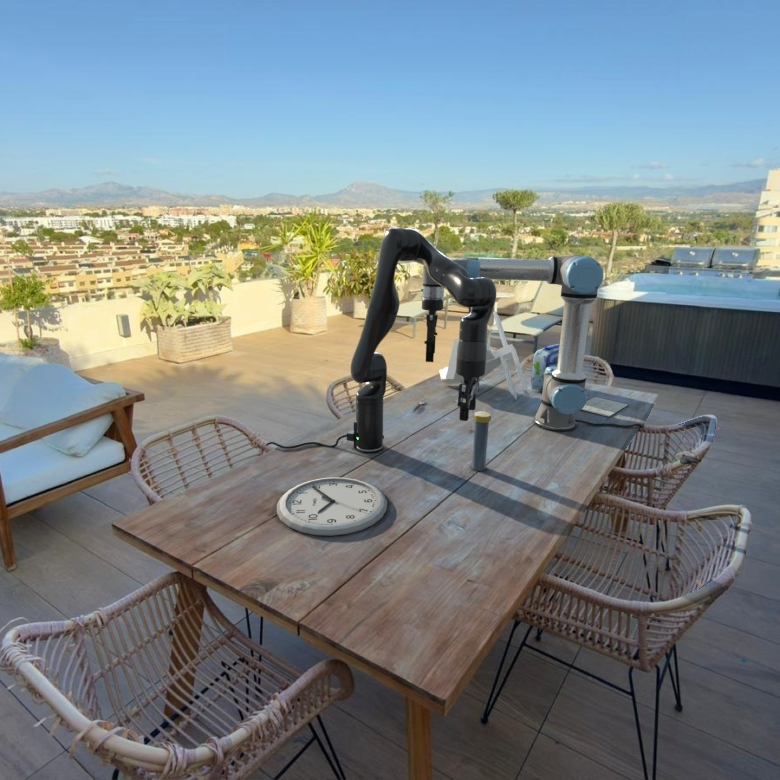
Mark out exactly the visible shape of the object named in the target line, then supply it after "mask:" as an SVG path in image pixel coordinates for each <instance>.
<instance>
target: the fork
mask: <svg viewBox="0 0 780 780" xmlns="http://www.w3.org/2000/svg"><path fill="white" fill-rule="evenodd" d="M427 399H428V397H424V396H422V397H421V398H420V400H419V402H418V403H419V404H417V405H416V406H415V408H413V412H415V411H416V410H419V408H420V406H421V405H425V404H426V403H427Z"/></svg>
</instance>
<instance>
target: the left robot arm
mask: <svg viewBox="0 0 780 780" xmlns="http://www.w3.org/2000/svg"><path fill="white" fill-rule="evenodd" d="M442 253H443V252H440V251H439V250H438V249H437V248H436V247H435V246H434V245H433V243H431V242H430V241H429V240H428V239H427V238H426V237H425V236H424V235H423V234H421V232H419V231H418V230H416V229H414V228H408V227H390V228H388V229H387V230H386V231H385V233H383V237H382V240H381V243H380V248H379V255H378V260H377V261H378V262H377V268H376V274H375V278H374V283H373V287H372V292H371V295H370V299H369V301H368V306H367V310H366V314H365V319H364V323H363V326H362V330H361V333H360V336H359V340H358V343H357V345H356V348H355V351H354V352H353V356H352V358H351V362H350V376H351V378H352V379H353V381H354V382H355V383H358V384H364V385H363V386H362V387H360V389H358V390H357V391H356V393H355V421H354V422H353V428H351V429H350V430H349V431H348V432H346V434H343V435H341V436H339V437H338V438H337V439H336V442H335V444H332V445H331V444H330V445H328V444H324V443H321V442H317V441H309V442H303V443H300V444H296V445H289V446H287V445H286V446H285V445H282V444H279V443H278V442H276V441H268V442H267V443H266V444H265V446H266V447H267V446H269V445H274V446H277V447H279V448H281V449H286V450H287V449H288V450H289V449H296V448H299V447H303V446H306V445H317V446H322V447H326V448H334V447H337V446H338V444H339V441H340V440H341V439H343V438H346V441H348V442H353V449H355V450H357V451H359V452H361V453H366V454H371V453H378V452H380V451H382V450H383V449H384V439H385V436H384V396H385V394H386V390H387V376H388V365H387V361H386V358H385V356H384V355H383V354H382V353H380V352H376V350H377V348H378V347H379V345H380V344H381V343H382V341H383V340H384V339H386V336H387V335H388V334H389V333H390V332H391V330H392V329H393V327H394V325H395V323H396V321H397V317H398V312H399V309H400V297H399V294H398V289H397V286H396V283H395V276H396V270H397V266H398V263H399V262H415V263H418V264H419V265H422V266H423V265H424V266H425V267H426V268H427V271H428V274H429V276H430V277H431V278H432V279H433V280H434V281H435V282H436V283H438V284H439V285H441V286H442V287H443V288H444V290H446V291H447V292H448V294H449V295H450V296H451V298H452V299H453V300H454V302H455V303H457V304H458V305H460V306H461V307H464V308H471V310H470V312H469V313H468V314H465V315H464V316H462V317H461V319H460V321H459V331H458V339H459V341H458V347H457V362H456V373H457V374H458V375H461V376H463V381H461V383H459V385H458V395H457V404H456V405H457V407H459V420H460V421H462V422H468V420H469V414H470V411H475V410H476V405H477V397H478V393H479V392H480V382H479V377H481V376H483V375H484V374H485V365H486V352H487V345H486V344H487V340H488V339H487V338H488V326H489V321H490V319H491V316H492V314H493V310H494V307H495V304H496V300H497V287H496V284H495V282H494V281H493V279H489V278H486V277H482V278H468V273H467V271H466V270H465V269H464V268H463V267H462V266H460V265H459V264H457V263H456V262H454V261H452V260H453V259H452V258H450V257H447V256H446V254H445V255H443V254H442ZM464 400H465V402H463V401H464Z"/></svg>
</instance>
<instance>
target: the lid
mask: <svg viewBox="0 0 780 780" xmlns="http://www.w3.org/2000/svg"><path fill="white" fill-rule="evenodd" d="M473 420H474V422H475V421H477V422H481V423H487V422H489V423H490V422H491V420H492V414H491V413H490V412H488V411H480V410H479V411H476V412H474V414H473Z"/></svg>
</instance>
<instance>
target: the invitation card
mask: <svg viewBox="0 0 780 780" xmlns="http://www.w3.org/2000/svg"><path fill="white" fill-rule="evenodd" d="M628 406H629V404H627V403H623V402H618V401H614V400H609V399H605V398H601V397H596V396H593V397H592V398H590V399H587V401H586V404H585V406H584V407H583V408H582V409H581V410H580V411H584V412H587V413H593V414H596V415H600V416H604V417H608V418H609V417H611V416H613V415H614V414H616V413H617V412H619V411H621V410H623V409H624V408H626V407H628Z"/></svg>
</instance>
